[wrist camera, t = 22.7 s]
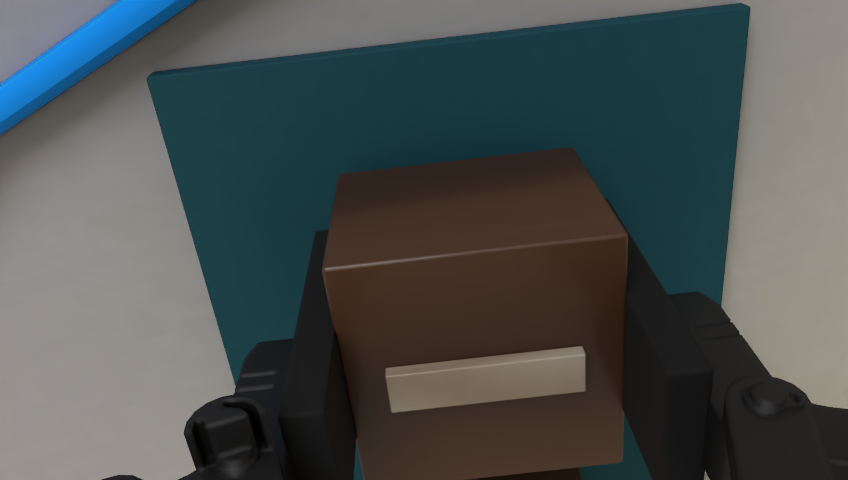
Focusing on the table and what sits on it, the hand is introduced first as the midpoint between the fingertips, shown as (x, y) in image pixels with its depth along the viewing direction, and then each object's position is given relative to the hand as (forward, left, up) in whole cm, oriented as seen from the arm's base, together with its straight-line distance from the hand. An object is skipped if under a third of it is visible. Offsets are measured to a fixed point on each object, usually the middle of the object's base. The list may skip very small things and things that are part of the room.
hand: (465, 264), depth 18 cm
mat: (+5, 0, -2) cm, 5 cm away
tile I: (0, 0, 0) cm, 0 cm away
